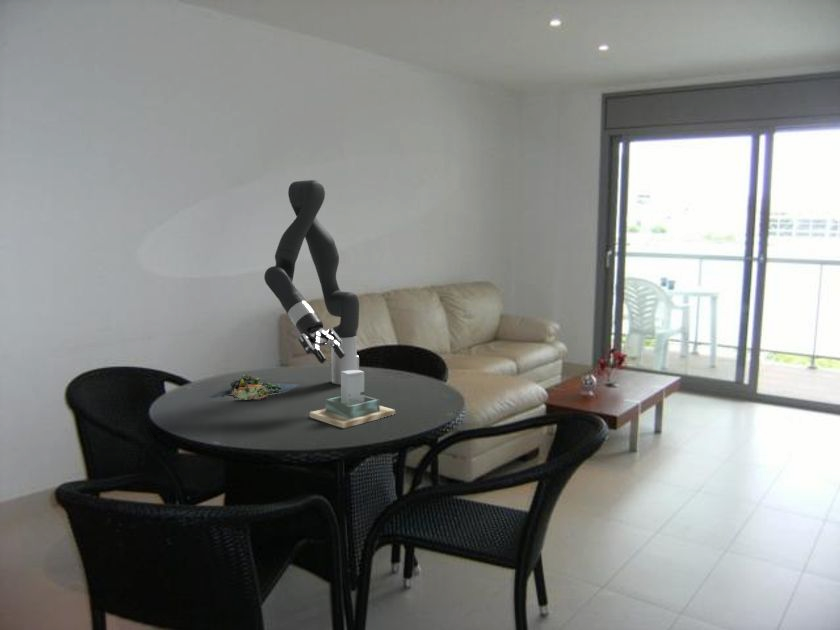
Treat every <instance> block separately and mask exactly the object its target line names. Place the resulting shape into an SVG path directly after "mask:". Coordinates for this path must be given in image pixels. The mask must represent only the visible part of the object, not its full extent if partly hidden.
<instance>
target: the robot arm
mask: <svg viewBox="0 0 840 630" xmlns="http://www.w3.org/2000/svg"><path fill="white" fill-rule="evenodd" d="M287 191H288V200H289V203H290V205H291V207H292V210H293V211H294V214H295V216H296V217H295V219H294V220H293V221H292V223H291V224H290V225H289V226H288V227H287V229H286V230H285V231H283V234H282V235H281V238H280V240H279V242H278V245H277V249H276V250H275V254H274V261H275V265H274V266H270V267H269V268H267V269H266V271H265V273H264V282H265V284H266V286H268V288H269V289H270V290H271V292H272V293H273V294H274V296H275V297H276V298H277V299H278V301H279V302H280V304H281V306H282V308H283V310H284V311H285V312H286V314H287V315H288V317H289V318H290V320H291V322H292V323H293V325H294V326H295V328H296V330H297V331H298V333H300V337H299V338H298V342H299V343H300V345H301V346H302V348H303V350H304V351H305V352H306V354H307V355H309V354H312V355H313V356H315V358H316V359H317V361H318V362H319V363H320V364H324V363H325V362H326V361H327V358H326V356H325V355H324V353H323V352H322V351H321V349H320V347H321V346H325V347H327V348H331V360H330V361H331V384H334V385H340V386H341V371H348V370H360V357H359V355H358V353H357V352H358V351H357V350H358V347H357V345H358V344H357V343H358V341H357V333H358V329H359V325H360V324H359V323H360V321H359V319H360V301H359V297H358V296H357V294H355V293H354V292H350V291H349V292H348V291H341V290H340V288H339V285H338V281H337V271H338V268H339V264H340V263H339V262H340V255H339V251H338V249H337V245H336V243H335V240H334V238H333V236H332V235H331V234H330V232H329V231H328V229H326V228H325V227H324V226H323V225H322V224H321V222H320V221H319V220H318V219H317V215H318V213H319V211H320V209H321V207H322V206H323V203H324V201H325V196H326V190H325V187H324V185H323V184H322V183H321V182H320V181H318V180H313V179H310V180H299V181H298V180H297V181H293V182H292V183H290V185H289V187H288V190H287ZM304 241H306V244H307V246H308V247H307V248H308V251H309V254H310V256H311V260H312V262H313V264H314V267H315V270H316V274H317V277H318V279H319V283H320V287H321V290H322V296H323V301H324V304H325V307H326V311H327V312H328V314H329V315H330V316H333V317H338V318H340V321H339V324H338V325H337V326H334V327H331V328H329V329H328V330H326V329H325V328H324V323H323V321H322V319H321V318H320V317H319V316H318V314H317V313H316V311H315V310H314V309H313V306H311V305H310V303H308V301H307V300H306V299H305V297H304V296H303V294H302V293H301V292H300V290H298V289H297V287H296V286H295V284H294V283H293V281H294V274H295V268H296V263H297V259H298V256H299V255H300V252H301V251H300V250H301V248H302V245H303V243H304Z"/></svg>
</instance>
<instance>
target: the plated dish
mask: <svg viewBox="0 0 840 630" xmlns="http://www.w3.org/2000/svg"><path fill="white" fill-rule="evenodd" d="M261 380H262V378H260V377H258V376H252V375H248V373H246V374H243V375H241V378H240V377H239V379H233V380H232V382H231V383H230V386H229V387H228V388H225V389H224V390H221V391H218V392H217V393H215V394H213V395H211V396H209V397H211V398H217V397H220V396H221V397H224V396H233V397H234V398H238V399H243V400H257V401H262V400H261V399H263V400H266V399H265V398H268V396H267V393H268V394H272V393H279V392H281V393H283V392H284V391H285V392H286V393H287V392H289V391H291V390H293V389H295V388H298V386H300V383H299V384H297V383H286V382H283V383H282V382H281V383H280V382H279V383H274V382H271V383H270V382H265V380H263V381H262V382H263V383H261V384H260V383H259V382H260V381H261ZM258 381H259V382H258ZM265 385H267V386H265ZM266 388H267V389H268V391H269V389H270V391H269V392H267V389H266ZM271 388H272V389H273V390H271ZM285 392H284V394H286V393H285ZM230 394H232V395H230ZM272 395H273V394H272Z"/></svg>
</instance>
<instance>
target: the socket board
mask: <svg viewBox="0 0 840 630" xmlns="http://www.w3.org/2000/svg"><path fill="white" fill-rule="evenodd" d="M380 401H381V400H380V399H378V398H374V397H371V396H368V395H364V403H360V404H355V405H351V406H350V405H347V404H343V403H341V395H340V396H336V397H332V398H327V399H325V408H322V409H318V410H312V411H309V418H311V419H314V420H317V421H321V422H323V423H326V424H329V425H332V426H335V427H338V428H341V429H346V428H350V427H354V426H358V425H362V424H365V423H369V422H373V421H376V420H380V418H381V419H384V417H385V418H388V417H392V416H395V415H396V409H394V408H390V407H386V406H383V405H380V403H381V402H380ZM394 414H395V415H394ZM391 415H392V416H391ZM387 416H388V417H387Z"/></svg>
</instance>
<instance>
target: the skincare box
mask: <svg viewBox="0 0 840 630" xmlns="http://www.w3.org/2000/svg"><path fill="white" fill-rule="evenodd" d="M340 396H341V403H343V404H347V405H350V406H351V405H355V404H360V403H364V396H365V371H363V370H361V369H359V370H348V371H341V385H340Z"/></svg>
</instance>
